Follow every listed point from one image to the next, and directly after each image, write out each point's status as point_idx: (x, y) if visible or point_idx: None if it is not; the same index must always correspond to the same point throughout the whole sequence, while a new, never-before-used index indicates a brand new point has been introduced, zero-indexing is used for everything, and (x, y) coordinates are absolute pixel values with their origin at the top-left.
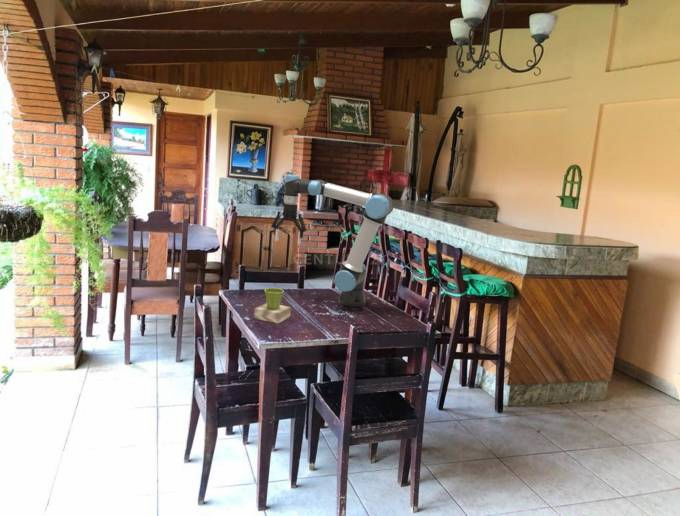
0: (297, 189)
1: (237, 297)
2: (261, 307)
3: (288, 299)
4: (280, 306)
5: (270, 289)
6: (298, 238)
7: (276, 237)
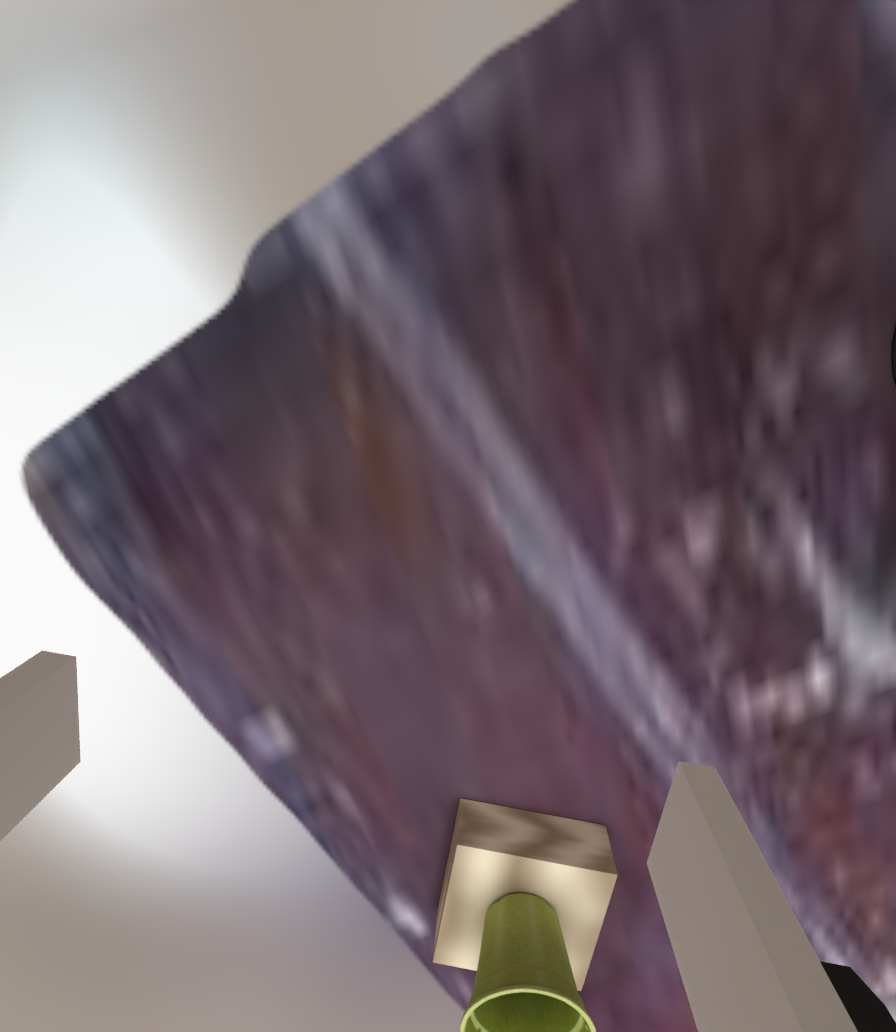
0: None
1: (178, 600)
2: (460, 937)
3: (493, 482)
4: (554, 885)
5: (486, 994)
6: (713, 1030)
7: (7, 833)
